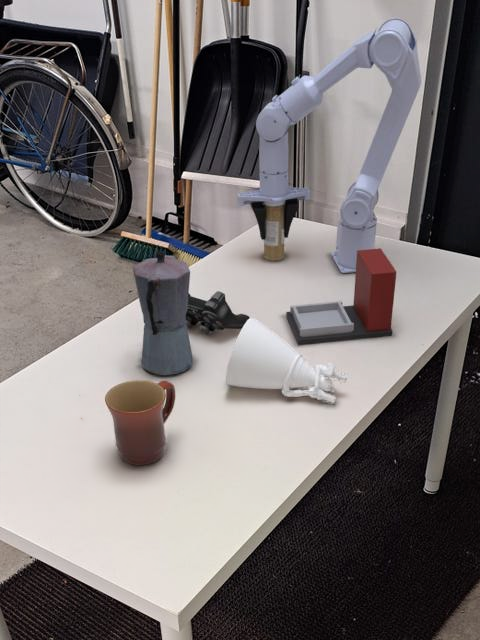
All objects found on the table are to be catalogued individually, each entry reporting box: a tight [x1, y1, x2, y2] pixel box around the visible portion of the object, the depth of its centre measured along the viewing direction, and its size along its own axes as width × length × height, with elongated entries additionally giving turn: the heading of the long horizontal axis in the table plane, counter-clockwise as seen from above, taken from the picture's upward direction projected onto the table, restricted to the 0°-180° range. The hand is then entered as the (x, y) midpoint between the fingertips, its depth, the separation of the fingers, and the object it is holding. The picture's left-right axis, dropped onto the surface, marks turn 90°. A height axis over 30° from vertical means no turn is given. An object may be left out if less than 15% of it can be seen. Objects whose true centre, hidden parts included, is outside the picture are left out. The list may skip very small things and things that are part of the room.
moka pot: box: [132, 250, 194, 376], centre depth 142 cm, size 10×15×20 cm, turn 174°
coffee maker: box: [285, 248, 397, 346], centre depth 154 cm, size 11×17×12 cm, turn 99°
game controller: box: [185, 290, 251, 335], centre depth 156 cm, size 16×7×10 cm, turn 55°
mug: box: [104, 379, 176, 466], centre depth 127 cm, size 12×9×10 cm
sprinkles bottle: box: [263, 200, 286, 262], centre depth 176 cm, size 5×5×14 cm
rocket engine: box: [225, 316, 349, 405], centre depth 139 cm, size 12×12×18 cm
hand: (273, 236), depth 178 cm, fingers closed on sprinkles bottle, 4 cm apart
